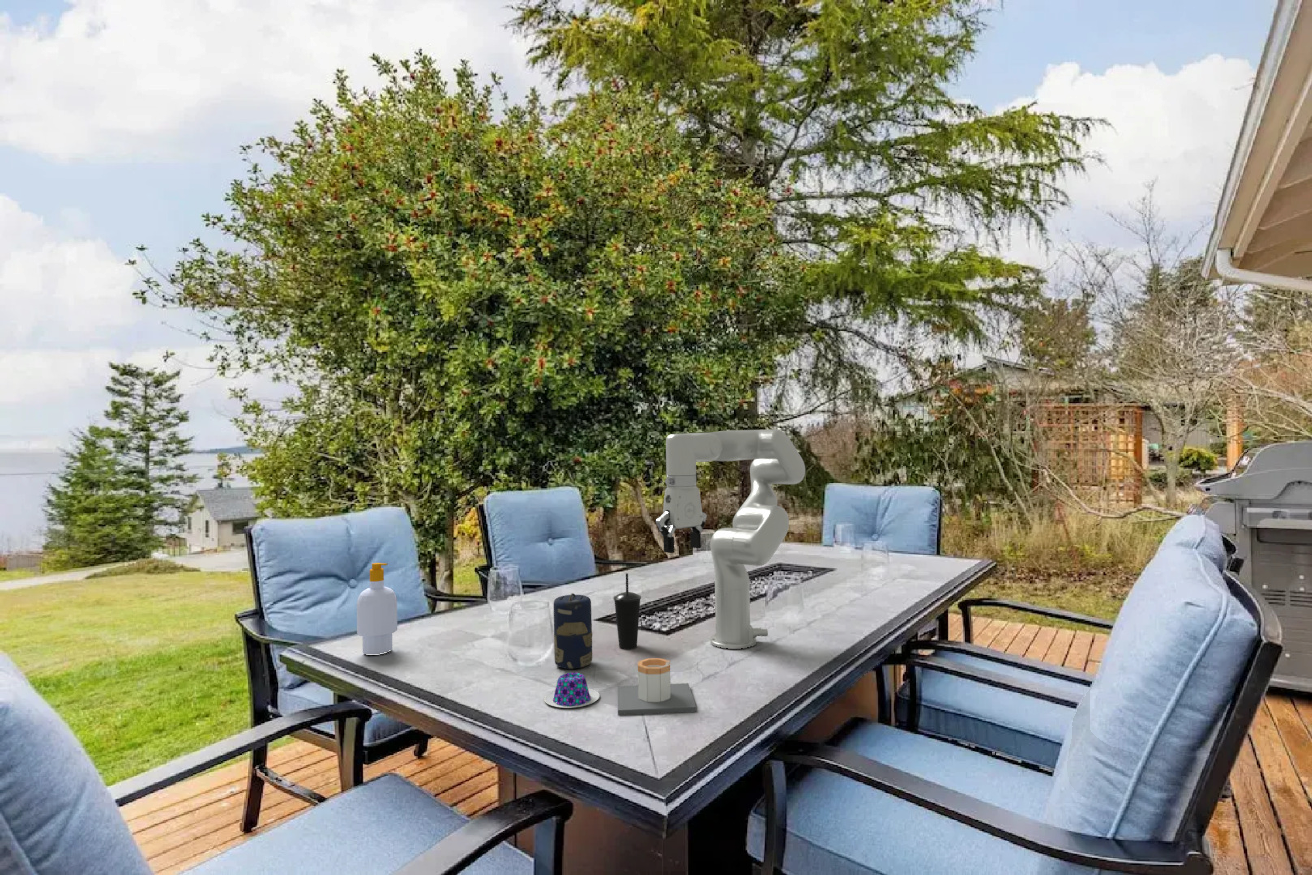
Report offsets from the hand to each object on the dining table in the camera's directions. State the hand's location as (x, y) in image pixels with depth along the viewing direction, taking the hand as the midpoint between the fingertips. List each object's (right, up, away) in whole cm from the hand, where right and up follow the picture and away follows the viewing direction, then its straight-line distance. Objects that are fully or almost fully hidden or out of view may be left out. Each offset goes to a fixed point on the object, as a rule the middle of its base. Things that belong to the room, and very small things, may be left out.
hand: (682, 550), depth 172 cm
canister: (-28, -29, -1) cm, 40 cm away
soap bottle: (-82, -30, +13) cm, 89 cm away
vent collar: (-7, -27, -26) cm, 38 cm away
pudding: (-25, -29, -24) cm, 45 cm away
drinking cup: (-14, -29, +14) cm, 35 cm away
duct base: (-7, -28, -26) cm, 39 cm away
